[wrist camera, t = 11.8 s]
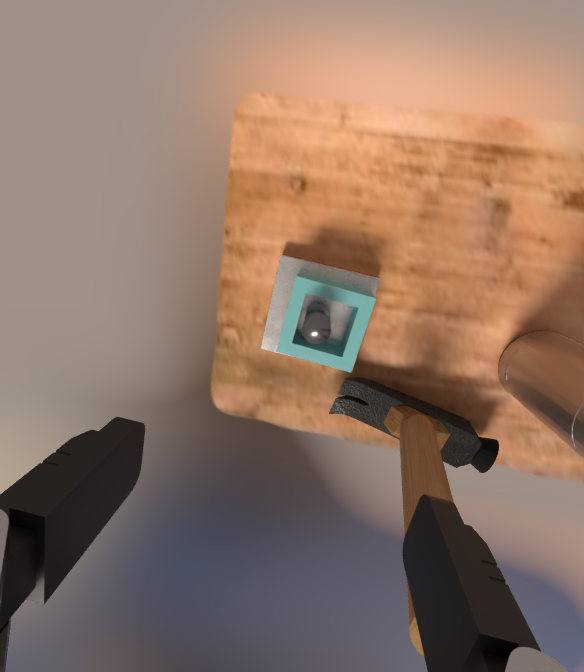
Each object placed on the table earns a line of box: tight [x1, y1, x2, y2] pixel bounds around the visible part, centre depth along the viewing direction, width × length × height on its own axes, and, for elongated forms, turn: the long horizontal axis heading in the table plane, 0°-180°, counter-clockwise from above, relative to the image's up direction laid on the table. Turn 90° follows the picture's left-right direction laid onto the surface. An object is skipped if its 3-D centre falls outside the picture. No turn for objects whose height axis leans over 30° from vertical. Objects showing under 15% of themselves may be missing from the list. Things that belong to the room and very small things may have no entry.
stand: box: [261, 254, 380, 371], centre depth 41 cm, size 12×12×8 cm
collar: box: [276, 272, 376, 373], centre depth 42 cm, size 9×9×4 cm
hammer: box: [329, 378, 499, 657], centre depth 34 cm, size 20×5×30 cm, turn 70°
